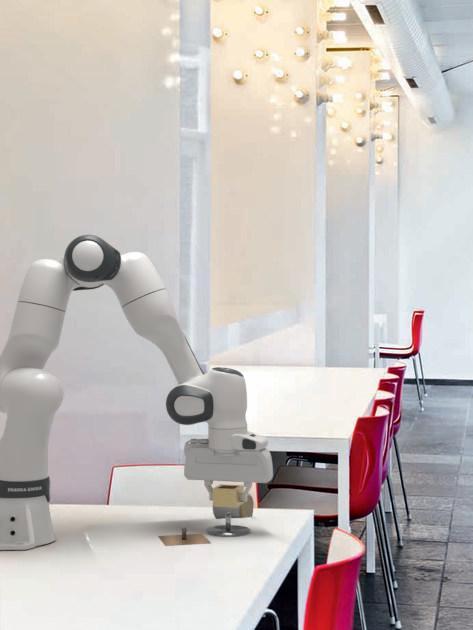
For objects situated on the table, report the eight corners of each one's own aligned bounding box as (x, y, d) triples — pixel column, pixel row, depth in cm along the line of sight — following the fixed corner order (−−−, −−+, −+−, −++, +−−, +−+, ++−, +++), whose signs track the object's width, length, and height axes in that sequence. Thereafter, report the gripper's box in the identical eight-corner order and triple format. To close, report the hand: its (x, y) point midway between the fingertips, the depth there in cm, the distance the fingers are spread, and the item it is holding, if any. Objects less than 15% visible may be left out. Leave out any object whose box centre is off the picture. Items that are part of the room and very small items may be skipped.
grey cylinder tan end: (241, 524, 265) (242, 492, 264) (211, 521, 268) (211, 490, 268) (260, 517, 274) (261, 486, 274) (231, 514, 278) (231, 484, 278)
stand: (165, 552, 236) (165, 534, 236) (157, 542, 246) (157, 524, 246) (211, 550, 239) (211, 531, 238) (202, 540, 248) (202, 522, 248)
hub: (211, 544, 244) (210, 516, 244) (202, 535, 253) (201, 507, 253) (255, 542, 246) (255, 513, 246) (244, 532, 256) (244, 505, 256)
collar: (212, 506, 248) (212, 488, 248) (220, 501, 253) (220, 484, 253) (236, 507, 246) (236, 489, 246) (243, 502, 252) (243, 485, 252)
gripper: (179, 440, 249) (180, 501, 250) (267, 443, 244) (267, 505, 244) (188, 436, 255) (189, 496, 256) (274, 439, 250) (275, 500, 250)
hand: (228, 500), depth 250 cm, fingers closed on collar, 6 cm apart
